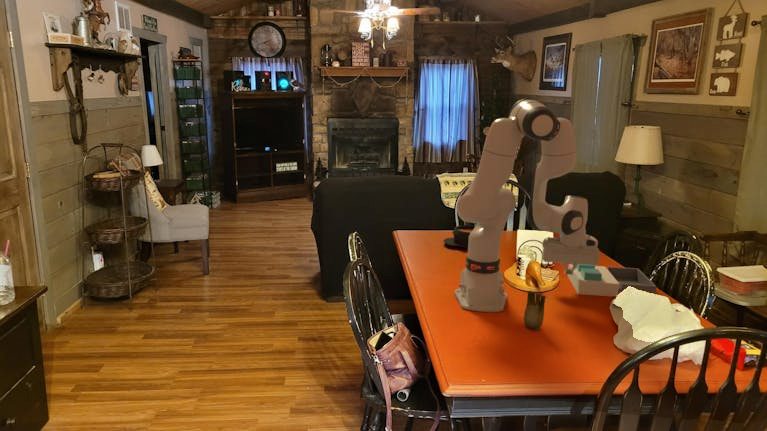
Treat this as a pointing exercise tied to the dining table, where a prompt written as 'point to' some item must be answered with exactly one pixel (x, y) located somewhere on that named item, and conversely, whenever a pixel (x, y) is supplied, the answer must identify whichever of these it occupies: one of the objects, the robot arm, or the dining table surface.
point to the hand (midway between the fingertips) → (568, 274)
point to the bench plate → (595, 283)
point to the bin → (632, 279)
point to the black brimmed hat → (460, 236)
